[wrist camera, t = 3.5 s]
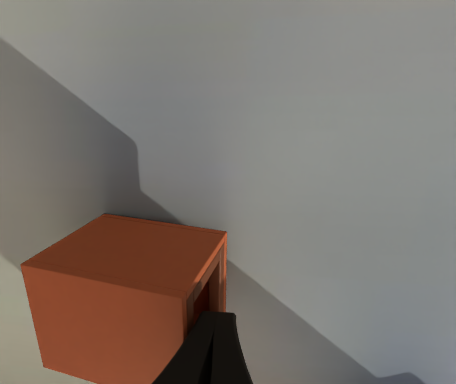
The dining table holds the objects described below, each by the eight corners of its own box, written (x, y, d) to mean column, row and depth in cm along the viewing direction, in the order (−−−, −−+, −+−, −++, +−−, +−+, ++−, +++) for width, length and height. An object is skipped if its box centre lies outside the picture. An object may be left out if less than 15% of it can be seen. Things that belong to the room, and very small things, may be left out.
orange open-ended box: (114, 295, 18) (43, 367, 14) (104, 213, 17) (19, 264, 12) (225, 320, 17) (186, 411, 12) (227, 231, 15) (182, 298, 10)
